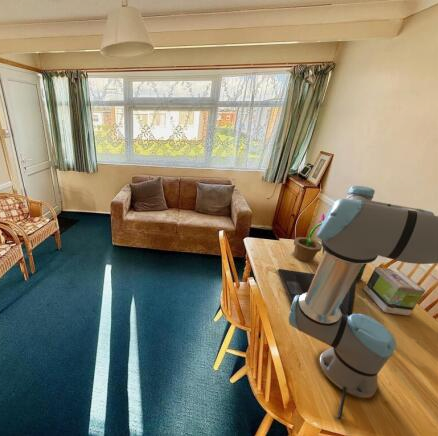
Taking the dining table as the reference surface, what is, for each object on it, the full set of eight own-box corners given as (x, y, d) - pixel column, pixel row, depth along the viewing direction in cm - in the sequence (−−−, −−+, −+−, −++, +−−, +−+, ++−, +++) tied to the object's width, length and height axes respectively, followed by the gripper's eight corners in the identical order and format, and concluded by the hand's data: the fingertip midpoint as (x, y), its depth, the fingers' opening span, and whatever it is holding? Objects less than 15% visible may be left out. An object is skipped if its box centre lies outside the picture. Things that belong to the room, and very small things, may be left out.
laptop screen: (354, 280, 90) (356, 280, 90) (322, 241, 116) (324, 241, 116) (349, 319, 98) (351, 319, 98) (321, 274, 124) (322, 274, 124)
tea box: (409, 316, 101) (427, 290, 95) (383, 312, 103) (399, 287, 97) (385, 292, 114) (399, 268, 108) (362, 289, 116) (374, 266, 110)
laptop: (294, 312, 104) (295, 309, 103) (278, 271, 130) (278, 268, 129) (348, 321, 99) (349, 318, 98) (320, 277, 125) (321, 274, 124)
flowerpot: (319, 266, 134) (338, 220, 121) (292, 261, 138) (307, 216, 125) (312, 252, 146) (328, 210, 133) (287, 248, 150) (300, 207, 137)
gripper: (368, 230, 89) (345, 278, 99) (350, 217, 101) (331, 260, 111) (345, 228, 91) (325, 275, 101) (330, 215, 102) (314, 258, 112)
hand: (328, 267), depth 106 cm, fingers closed
